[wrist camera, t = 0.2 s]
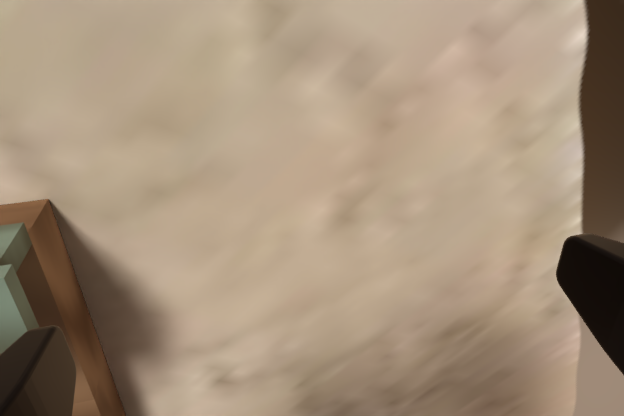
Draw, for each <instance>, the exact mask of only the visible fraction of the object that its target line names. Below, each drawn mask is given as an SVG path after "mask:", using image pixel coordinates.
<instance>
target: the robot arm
mask: <svg viewBox="0 0 624 416" xmlns="http://www.w3.org/2000/svg"><path fill="white" fill-rule="evenodd" d="M556 277H557V281H558V283H559V285H560V286H561V288H562V289H563V291H564V292H565V294H566V295H567V297H568V298H569V300H570V301H571V303H572V304H573V306H574V307H575V309H576V310H577V312H578V313H579V315H580V316H581V317H582V319H583V320H584V322H585V323H586V325H587V326H588V328H589V329H590V331H591V332H592V334H593V335H594V336H595V338H596V339H597V341H598V342H599V344H600V345H601V347H602V348H603V350H604V351H605V352H606V353H607V355H608V356H609V357H610V358H611V360H612V361H613V362H614V364H615V365H616V366H617V367H618V368H619V370H620V371H621V372H622V373H623V375H624V243H621V242H618V241H614V240H611V239H607V238H604V237H601V236H598V235H594V234H580V235H574V236H570V237H568V238H567V239H566V240H565V242H564V244H563V248H562V252H561V255H560V259H559V263H558V267H557V271H556ZM75 385H76V365H75V361H74V359H73V356H72V353H71V351H70V348H69V346H68V343H67V341H66V338H65V336H64V333H63V331H62V330H61V328H60V327H59V326H56V325H51V326H45V327H39V328H34V329H30V330H28V331H27V332H25V333H24V334H23V335H22V336H21V337H19V338H18V339H17V340H16V341H15V342H14V343H13V344H12V345H10V346H9V347H8V348H7V349H6V350H5V351H4V352H2V353H1V354H0V416H72V412H73V403H74V394H75Z"/></svg>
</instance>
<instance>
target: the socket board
mask: <svg viewBox="0 0 624 416" xmlns="http://www.w3.org/2000/svg"><path fill="white" fill-rule="evenodd" d="M51 325H56V326H59V327H60V328H61V330H62V331H63V333H64V336H65V338H66V341H67V343H68V346H69V348H70V351H71V353H72V356H73V359H74V361H75V365H76V385H75V394H74V403H73V412H72V416H126V415H125V412H124V409H123V406H122V403H121V401H120V398H119V395H118V392H117V389H116V387H115V384H114V381H113V378H112V376H111V373H110V370H109V367H108V364H107V362H106V359H105V356H104V353H103V350H102V348H101V345H100V342H99V339H98V336H97V334H96V331H95V328H94V325H93V323H92V320H91V317H90V314H89V311H88V309H87V306H86V303H85V300H84V297H83V295H82V292H81V289H80V286H79V284H78V281H77V278H76V275H75V272H74V270H73V267H72V264H71V261H70V258H69V256H68V253H67V250H66V247H65V244H64V242H63V239H62V236H61V233H60V231H59V228H58V225H57V222H56V219H55V217H54V214H53V211H52V208H51V205H50V203H49V200H48V199H45V200H38V201H30V202H22V203H14V204H7V205H0V354H1V353H2V352H4V351H5V350H6V349H7V348H8V347H9V346H10V345H12V344H13V343H14V342H15V341H16V340H17V339H18V338H19V337H21V336H22V335H23V334H24V333H25V332H27V331H28V330H30V329H34V328H39V327H45V326H51Z"/></svg>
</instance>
